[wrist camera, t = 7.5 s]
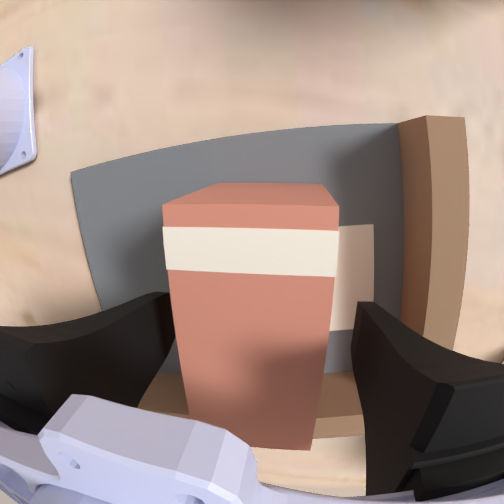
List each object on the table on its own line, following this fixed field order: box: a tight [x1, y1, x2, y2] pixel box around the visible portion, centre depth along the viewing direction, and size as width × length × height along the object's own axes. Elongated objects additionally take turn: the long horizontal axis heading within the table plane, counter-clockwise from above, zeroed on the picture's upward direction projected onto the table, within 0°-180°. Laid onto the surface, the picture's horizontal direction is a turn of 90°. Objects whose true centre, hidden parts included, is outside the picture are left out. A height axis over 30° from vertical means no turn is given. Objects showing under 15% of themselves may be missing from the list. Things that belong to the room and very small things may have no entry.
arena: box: [71, 116, 469, 439], centre depth 14 cm, size 18×14×4 cm
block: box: [162, 183, 339, 450], centre depth 12 cm, size 5×9×6 cm, turn 0°
